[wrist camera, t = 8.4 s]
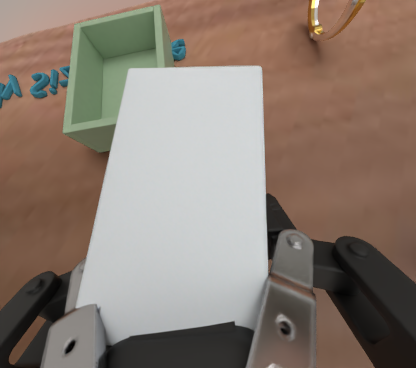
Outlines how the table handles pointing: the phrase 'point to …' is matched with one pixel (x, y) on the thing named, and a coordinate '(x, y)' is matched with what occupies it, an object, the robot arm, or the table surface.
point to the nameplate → (13, 86)
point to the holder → (110, 70)
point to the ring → (349, 13)
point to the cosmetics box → (181, 204)
